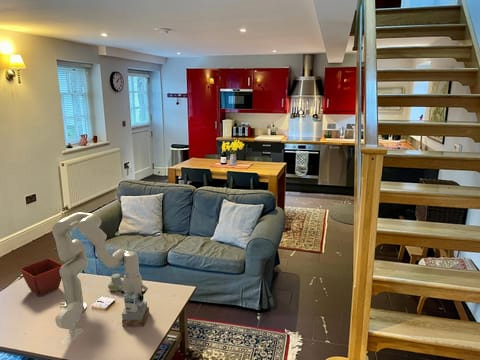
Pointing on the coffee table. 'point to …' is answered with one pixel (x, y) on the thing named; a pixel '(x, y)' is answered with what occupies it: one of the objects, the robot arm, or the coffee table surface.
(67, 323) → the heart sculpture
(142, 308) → the tower top block
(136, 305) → the light bulb box
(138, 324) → the tower base block
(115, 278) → the air freshener
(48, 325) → the coffee table surface
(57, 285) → the plant pot
